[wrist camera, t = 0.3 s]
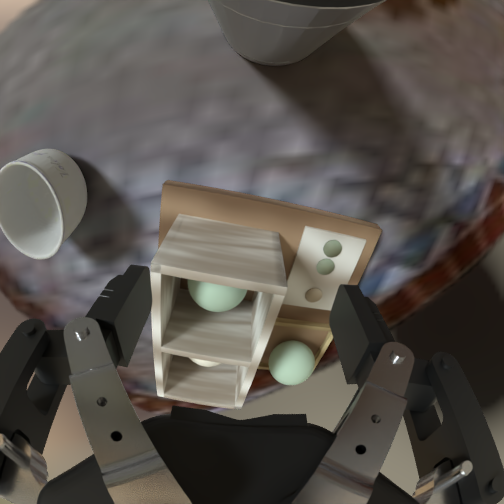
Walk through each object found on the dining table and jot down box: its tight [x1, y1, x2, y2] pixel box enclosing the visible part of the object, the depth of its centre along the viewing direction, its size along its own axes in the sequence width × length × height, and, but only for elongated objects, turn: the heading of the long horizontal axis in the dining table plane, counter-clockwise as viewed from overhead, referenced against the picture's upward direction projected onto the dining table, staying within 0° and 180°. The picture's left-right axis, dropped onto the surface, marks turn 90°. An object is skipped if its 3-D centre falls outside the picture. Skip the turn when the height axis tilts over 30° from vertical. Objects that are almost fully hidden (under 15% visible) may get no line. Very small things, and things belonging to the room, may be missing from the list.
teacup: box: [0, 149, 87, 259], centre depth 23 cm, size 14×11×8 cm
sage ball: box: [269, 340, 315, 385], centre depth 34 cm, size 6×6×6 cm
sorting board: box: [151, 180, 382, 410], centre depth 30 cm, size 25×23×10 cm
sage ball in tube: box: [188, 279, 247, 312], centre depth 28 cm, size 6×6×6 cm
